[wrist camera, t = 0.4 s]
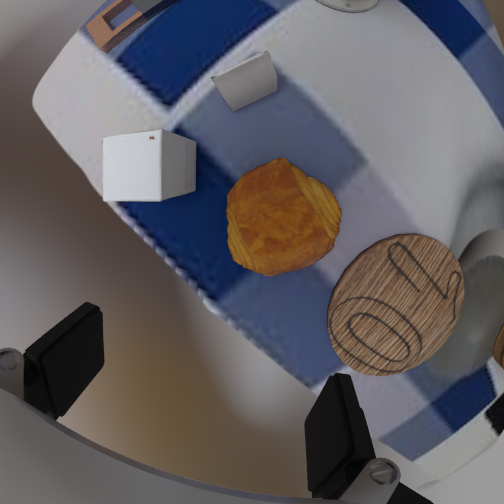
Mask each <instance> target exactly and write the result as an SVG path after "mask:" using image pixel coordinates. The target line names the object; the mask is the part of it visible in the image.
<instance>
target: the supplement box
mask: <svg viewBox="0 0 504 504" xmlns="http://www.w3.org/2000/svg"><path fill="white" fill-rule="evenodd" d="M194 191H196V141H193V140H191V139H188V138H185V137H182V136H180V135H177V134H174V133H171V132H168V131H166V130H163V129H157V130H150V131H142V132H135V133H129V134H123V135H117V136H110V137H104V138H103V201H162V200H165V199H168V198H171V197H175V196H179V195H183V194H187V193H190V192H194Z"/></svg>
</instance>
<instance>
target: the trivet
mask: <svg viewBox="0 0 504 504" xmlns="http://www.w3.org/2000/svg"><path fill="white" fill-rule="evenodd" d="M463 299H464V278H463V275H462V272H461V269H460V265H459V263H458V261H457V260H456V258H455V257H454V255H453V254H452V252H451V251H450V250H449V249H448V248H447V247H445V246H444V245H442V244H441V243H440V242H438V241H437V240H435V239H433V238H430V237H426V236H423V235H419V234H397V235H394V236H391V237H388V238H386V239H383V240H380V241H377V242H376V243H374V244H373V245H371V246H370V247H369V248H367V249H365V250H364V251H362V252H361V253H360V254H359V255H358V256H357V257H356V258H355V259H354V260H353V261H352V262H351V263H350V264H349V265H348V266H347V267H346V269H345V270H344V271H343V273H342V275H341V277H340V278H339V280H338V282H337V283H336V285H335V287H334V288H333V292H332V295H331V299H330V302H329V305H328V313H327V328H328V332H329V335H330V339H331V343H332V346H333V349H334V350H335V352H336V353H337V355H338V356H339V358H340V359H341V361H343V362H344V363H345V364H346V365H348V366H349V367H350V368H352V369H353V370H355V371H358V372H361V373H364V374H367V375H375V376H387V375H393V374H398V373H402V372H404V371H407V370H409V369H411V368H414V367H416V366H418V365H419V364H421V363H422V362H424V361H425V360H427V359H428V358H430V357H431V356H432V355H433V354H434V353H435V352H436V351H437V350H438V349H439V348H440V347H441V346H442V345H443V344H444V343H445V341H446V340H447V338H448V337H449V335H450V334H451V332H452V331H453V329H454V327H455V325H456V323H457V321H458V318H459V316H460V313H461V309H462V305H463Z"/></svg>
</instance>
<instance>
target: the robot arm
mask: <svg viewBox="0 0 504 504" xmlns="http://www.w3.org/2000/svg"><path fill="white" fill-rule="evenodd" d="M317 1H319V2H321V3H322V4H324V5H327V6H329V7H331V8H334V9H337V10H342V11H347V12H361V11H366V10H369V9H371V8H372V7H374V6H375V5H376V3H377V2H378V0H317ZM25 351H26V352H25V353H24V354H23V355H22V354H21V352H19V351H18V350H16V349H14V348H3V349H0V504H433V503H432V502H431V501H430V500H428V499H426V498H425V497H423V496H421V495H420V494H418V493H416V492H415V491H413V490H412V489H410V488H408V487H407V486H405V485H404V484H402V483H400V482H399V481H400V478H401V473H400V470H399V468H398V466H397V465H396V464H395V463H394V462H392V461H391V460H389V459H386V458H376V456H375V452H374V448H373V444H372V440H371V437H370V433H369V430H368V426H367V423H366V419H365V416H364V412H363V410H362V408H360V406H359V402H358V399H357V395H356V392H355V389H354V385H353V382H352V379H351V376H350V375H348V374H342V373H335V374H334V376H329V378H328V380H327V382H326V384H325V386H324V387H323V389H322V391H321V393H320V395H319V397H318V398H317V400H316V402H315V404H314V406H313V407H312V409H311V411H310V413H309V415H308V416H307V418H306V420H305V441H306V459H307V480H308V490H309V491H311V492H312V498H322V499H310V498H295V497H285V496H276V495H266V494H260V493H253V492H246V491H241V490H235V489H230V488H225V487H221V486H216V485H212V484H207V483H203V482H200V481H196V480H192V479H189V478H185V477H181V476H178V475H175V474H172V473H169V472H166V471H162V470H160V469H157V468H154V467H151V466H148V465H146V464H143V463H140V462H138V461H135V460H133V459H130V458H128V457H126V456H123V455H121V454H119V453H116V452H114V451H112V450H110V449H108V448H105V447H103V446H101V445H99V444H97V443H95V442H93V441H91V440H89V439H87V438H85V437H83V436H81V435H80V434H78V433H76V432H74V431H72V430H71V429H69V428H67V427H65V426H64V425H62V424H60V423H58V422H57V421H56V420H57V419H58V417H59V416H61V417H62V416H64V415H65V414H66V412H67V411H68V409H69V408H70V407H71V406H72V405H73V403H74V402H75V401H76V399H77V398H78V397H79V396H80V394H81V393H82V392H83V391H84V390H85V388H86V387H87V386H88V385H89V383H90V382H91V381H92V380H93V378H94V377H95V376H96V375H97V373H98V372H99V371H100V370H101V369H102V367H103V365H104V343H103V314H102V312H101V311H100V308H99V307H98V306H96V305H94V304H91V303H89V302H85V303H84V304H82V305H81V306H80V307H79V308H77V309H76V310H75V311H74V312H72V313H71V314H69V315H68V316H67V317H66V318H64V319H63V320H62V321H60V322H59V323H58V324H57V325H55V326H54V327H53V328H52V329H50V330H49V331H48V332H47V333H45V334H44V335H43V336H42V337H41V338H39V339H38V340H37V341H35V342H34V343H33V344H32V345H31V346H29V347H28V348H27V349H26V350H25ZM45 414H46V415H45Z"/></svg>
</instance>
